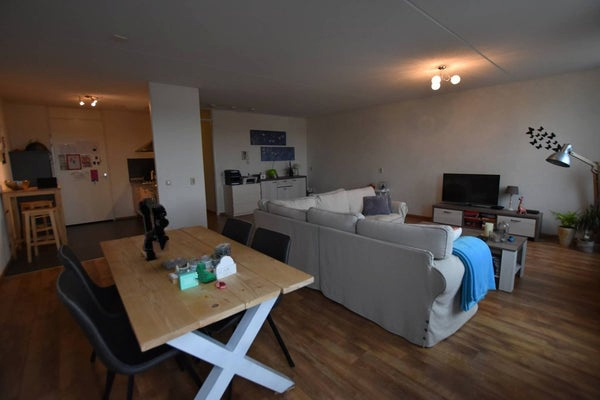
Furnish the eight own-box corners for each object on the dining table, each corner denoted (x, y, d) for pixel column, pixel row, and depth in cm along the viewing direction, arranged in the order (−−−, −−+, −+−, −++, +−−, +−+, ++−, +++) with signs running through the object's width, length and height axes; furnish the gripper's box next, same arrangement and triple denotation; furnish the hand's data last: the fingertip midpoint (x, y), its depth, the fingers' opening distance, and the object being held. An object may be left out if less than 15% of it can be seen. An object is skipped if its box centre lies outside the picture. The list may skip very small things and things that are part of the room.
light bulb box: (224, 263, 185) (223, 248, 184) (215, 263, 187) (214, 247, 185) (231, 258, 196) (230, 243, 194) (222, 257, 197) (221, 242, 195)
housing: (153, 251, 180) (152, 241, 179) (167, 249, 185) (166, 238, 184) (155, 253, 176) (154, 242, 175) (169, 250, 181) (168, 240, 180)
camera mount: (217, 279, 161) (216, 262, 160) (205, 284, 156) (203, 266, 154) (206, 274, 169) (205, 257, 168) (194, 278, 164) (193, 261, 162)
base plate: (161, 264, 187) (161, 258, 186) (183, 258, 196) (182, 253, 195) (168, 270, 176) (167, 264, 176) (190, 264, 186) (190, 259, 185)
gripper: (141, 224, 180) (144, 248, 182) (147, 230, 166) (150, 255, 168) (160, 222, 187) (162, 244, 189) (168, 226, 173) (170, 251, 175)
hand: (161, 249), depth 180 cm, fingers closed on housing, 5 cm apart
